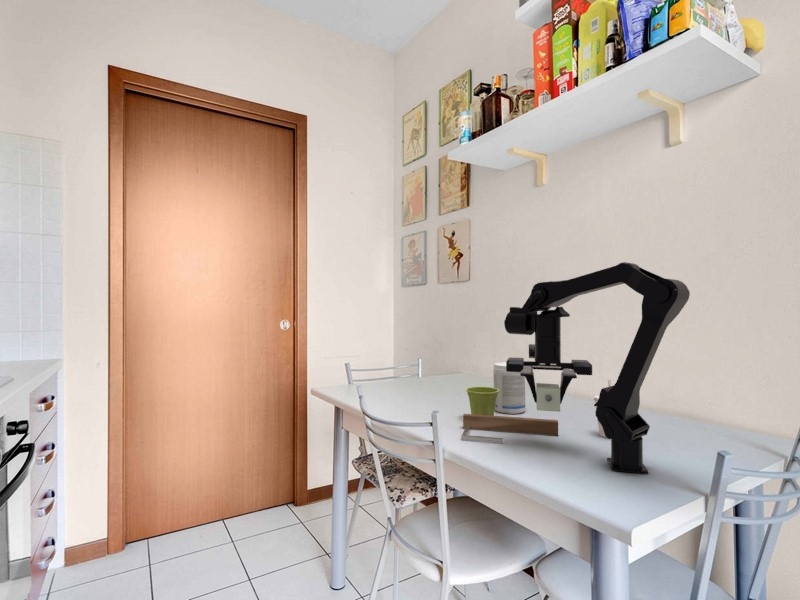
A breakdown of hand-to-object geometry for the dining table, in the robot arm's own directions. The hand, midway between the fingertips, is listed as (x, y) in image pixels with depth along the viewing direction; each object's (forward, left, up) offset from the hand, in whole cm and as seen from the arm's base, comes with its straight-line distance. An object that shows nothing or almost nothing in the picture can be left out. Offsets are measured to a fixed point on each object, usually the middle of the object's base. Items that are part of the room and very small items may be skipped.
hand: (547, 402), depth 103 cm
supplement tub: (+33, +10, -10) cm, 36 cm away
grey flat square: (+4, +15, -10) cm, 19 cm away
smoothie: (+13, -15, -10) cm, 22 cm away
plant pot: (+20, +17, -10) cm, 29 cm away
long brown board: (+10, +9, -10) cm, 17 cm away
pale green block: (0, 0, -1) cm, 1 cm away
